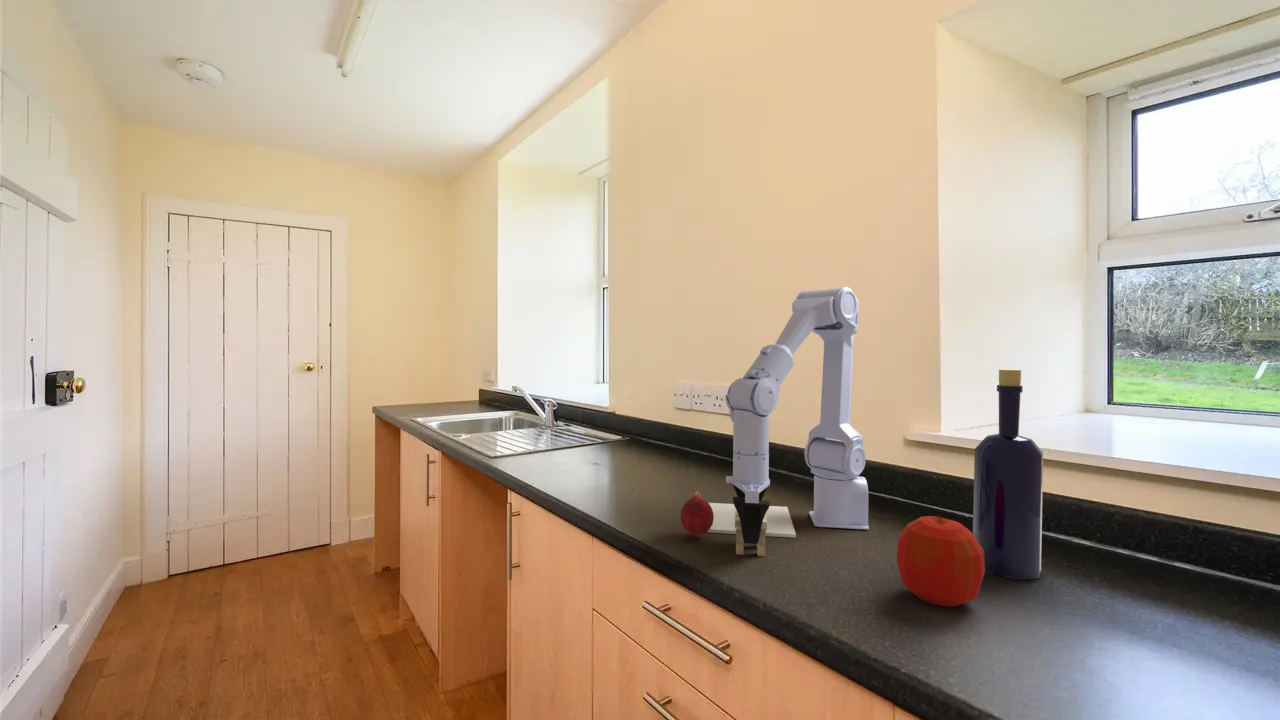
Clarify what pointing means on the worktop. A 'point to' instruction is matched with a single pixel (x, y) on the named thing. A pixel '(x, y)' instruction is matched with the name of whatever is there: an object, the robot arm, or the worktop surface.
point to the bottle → (1009, 491)
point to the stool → (741, 542)
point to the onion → (697, 516)
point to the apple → (940, 561)
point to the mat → (775, 515)
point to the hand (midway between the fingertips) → (750, 534)
